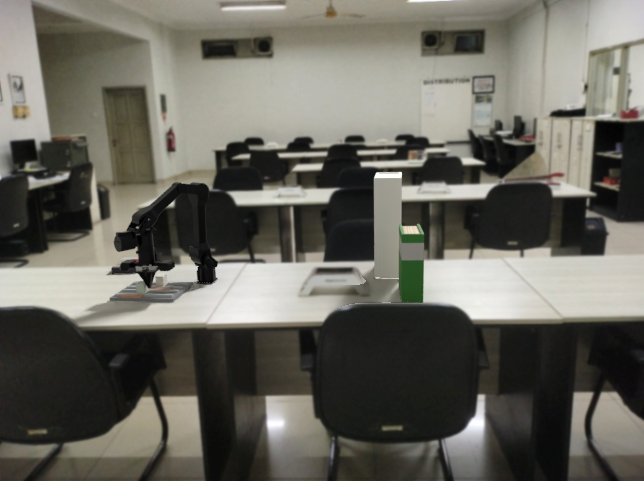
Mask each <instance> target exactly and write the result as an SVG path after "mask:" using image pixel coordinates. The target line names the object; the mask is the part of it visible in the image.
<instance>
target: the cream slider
mask: <svg viewBox="0 0 644 481" xmlns="http://www.w3.org/2000/svg"><path fill="white" fill-rule="evenodd" d="M154 279H155V282H156V286H166V285H167V284H168V282H169V281H168V274H167V273H158V274H157V275H155V276H154Z"/></svg>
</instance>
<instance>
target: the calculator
mask: <svg viewBox="0 0 644 481" xmlns="http://www.w3.org/2000/svg"><path fill="white" fill-rule="evenodd" d="M126 260H136V261H137V262H138V261H139V260H138V256H123V257H122V258H121V259H119V260H118V261H117V262H116V263H114V265H112V267H111V274H112V273H124V274H134V273H133V272H135V271H136V268H130V269H129V270H128V271H120V264H121V263H122V262H124V261H126Z"/></svg>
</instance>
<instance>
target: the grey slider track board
mask: <svg viewBox="0 0 644 481" xmlns="http://www.w3.org/2000/svg"><path fill="white" fill-rule="evenodd" d="M139 281H140V280H139ZM139 281H138V280H137V281H136V280H135V281H133V282H132V283H131V284H129V285H127V286H125V287H124V288H122V289H121V290H120V291H118V292H116V293H114V295H112V296H110V297H109V301H110V302H132V303H133V302H137V303H139V302H141V303H143V302H144V303H149V302H150V303H175V301H177V300H178V299H179V298H180V297H181V296H182V295H184V294H185V293H186V292H187V291H188V290H189V289H191V288H192V287H193V286H194V281H167V282H168V284H167V285H166V286H156V281H153V283H152V287H151V288H149V291H148V292H147V293H146V294H137V292H136V283H137V282H139Z"/></svg>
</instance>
